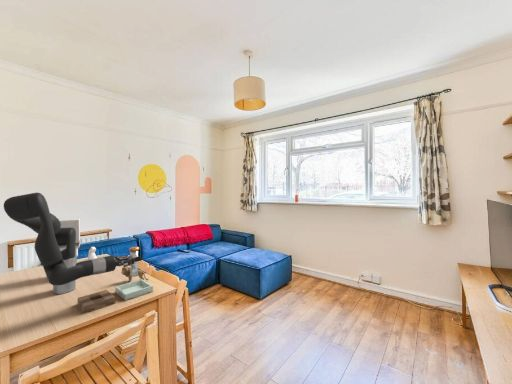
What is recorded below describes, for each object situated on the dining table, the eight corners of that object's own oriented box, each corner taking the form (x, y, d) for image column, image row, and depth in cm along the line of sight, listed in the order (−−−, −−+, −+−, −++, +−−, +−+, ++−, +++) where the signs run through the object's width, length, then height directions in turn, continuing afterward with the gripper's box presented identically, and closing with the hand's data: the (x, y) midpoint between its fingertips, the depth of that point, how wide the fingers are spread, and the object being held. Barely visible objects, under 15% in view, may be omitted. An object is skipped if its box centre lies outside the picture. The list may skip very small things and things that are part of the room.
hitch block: (77, 304, 110) (77, 297, 110) (106, 295, 119) (106, 289, 119) (84, 313, 102) (84, 306, 102) (115, 303, 111) (115, 297, 111)
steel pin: (127, 274, 123) (127, 247, 123) (136, 272, 126) (137, 246, 126) (131, 277, 120) (131, 249, 120) (140, 274, 123) (140, 247, 123)
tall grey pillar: (79, 277, 143) (78, 219, 142) (56, 281, 137) (55, 221, 136) (80, 271, 152) (79, 217, 151) (58, 275, 146) (58, 218, 145)
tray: (115, 292, 123) (115, 286, 123) (142, 284, 133) (142, 279, 133) (125, 300, 114) (125, 294, 114) (153, 291, 124) (153, 285, 124)
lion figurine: (119, 283, 134) (119, 268, 133) (123, 280, 139) (123, 265, 139) (147, 282, 136) (147, 267, 136) (149, 278, 141) (149, 264, 141)
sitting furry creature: (81, 263, 169) (81, 246, 168) (95, 260, 175) (95, 244, 175) (85, 266, 163) (85, 248, 162) (100, 263, 169) (100, 246, 169)
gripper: (107, 260, 107) (145, 252, 120) (98, 254, 117) (134, 248, 130) (107, 276, 108) (145, 267, 120) (98, 269, 117) (134, 261, 130)
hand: (139, 257), depth 125 cm, fingers closed on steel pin, 3 cm apart
